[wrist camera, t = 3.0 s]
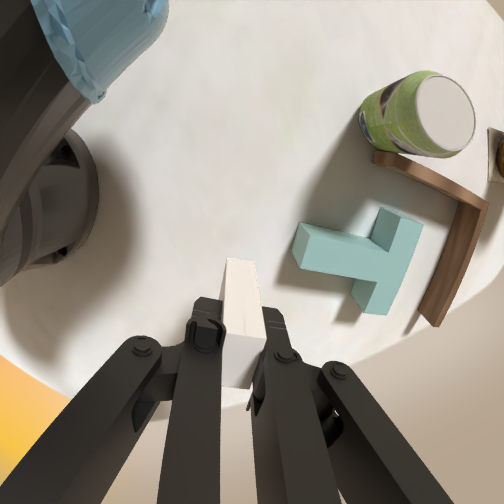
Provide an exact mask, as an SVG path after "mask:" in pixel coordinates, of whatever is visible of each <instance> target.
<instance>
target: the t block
mask: <svg viewBox="0 0 504 504" xmlns="http://www.w3.org/2000/svg"><path fill="white" fill-rule="evenodd" d="M422 228H423V224H421V223H419V222H417V221H415V220H413V219H411V218H409V217H407V216H405V215H403V214H400V213H397V212H394V211H391V210H388V209H385V208H382V207H380V211H379V214H378V217H377V220H376V223H375V227H374V230H373V233H372V236H371V239H369V238H365V237H361V236H357V235H353V234H349V233H345V232H340V231H336V230H332V229H328V228H324V227H319V226H315V225H311V224H306V223H302V222H299V225H298V229H297V232H296V236H295V239H294V243H293V246H292V250H291V252H292V254H293V256H294V258H295V260H296V262H297V264H298V265H299V267H300V269H306V270H311V271H317V272H323V273H328V274H334V275H340V276H345V277H351V278H356V280H355V282H354V285H353V287H352V290H351V292H350V294H351V296H352V297H353V299H354V300H355V301H356V303H357V304H358V306H359V307H360V308H361V310H362V311H363V313H367V314H377V315H387V314H388V312H389V310H390V307H391V305H392V303H393V301H394V299H395V297H396V294H397V292H398V290H399V288H400V285H401V283H402V281H403V278H404V276H405V273H406V271H407V269H408V266H409V264H410V261H411V258H412V256H413V253H414V250H415V248H416V245H417V242H418V239H419V237H420V234H421V231H422Z"/></svg>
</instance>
